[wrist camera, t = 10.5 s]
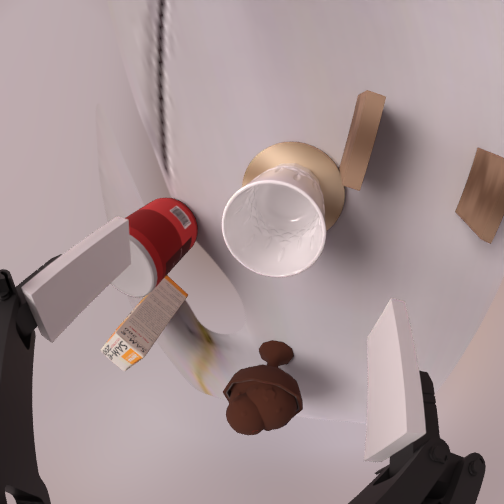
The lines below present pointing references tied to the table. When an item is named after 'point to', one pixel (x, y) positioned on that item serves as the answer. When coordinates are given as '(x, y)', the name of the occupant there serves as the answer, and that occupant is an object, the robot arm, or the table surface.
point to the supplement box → (144, 324)
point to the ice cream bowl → (263, 393)
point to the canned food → (156, 244)
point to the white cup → (277, 221)
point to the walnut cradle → (476, 189)
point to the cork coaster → (309, 159)
